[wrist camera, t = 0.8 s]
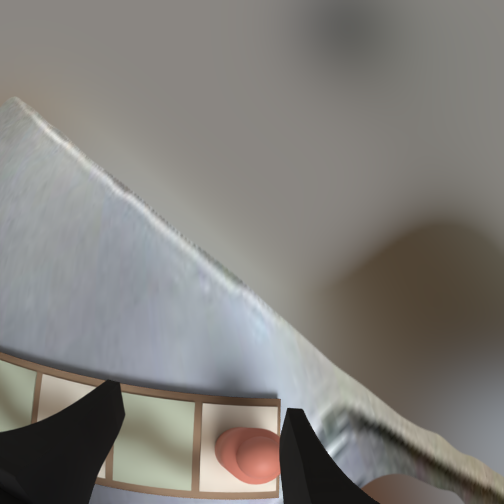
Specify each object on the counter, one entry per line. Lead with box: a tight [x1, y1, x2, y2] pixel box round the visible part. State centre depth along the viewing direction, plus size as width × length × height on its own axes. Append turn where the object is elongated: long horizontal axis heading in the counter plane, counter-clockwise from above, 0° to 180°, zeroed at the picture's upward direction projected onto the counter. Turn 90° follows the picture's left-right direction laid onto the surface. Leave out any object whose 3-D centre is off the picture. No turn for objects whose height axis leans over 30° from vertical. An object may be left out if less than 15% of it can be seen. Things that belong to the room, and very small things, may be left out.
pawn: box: [215, 427, 281, 485], centre depth 20 cm, size 4×4×8 cm
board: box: [0, 352, 281, 500], centre depth 22 cm, size 10×30×1 cm, turn 89°
